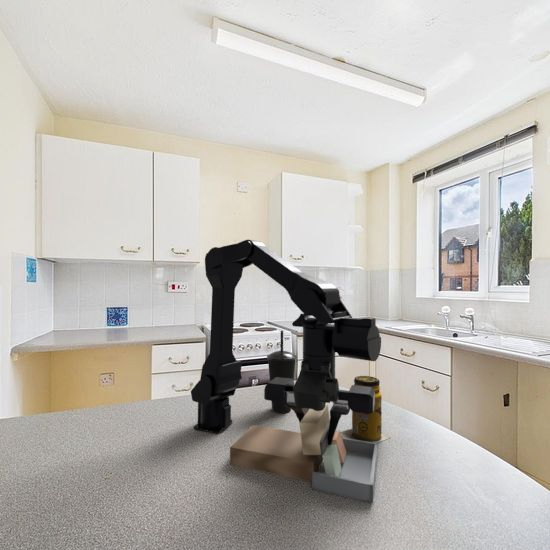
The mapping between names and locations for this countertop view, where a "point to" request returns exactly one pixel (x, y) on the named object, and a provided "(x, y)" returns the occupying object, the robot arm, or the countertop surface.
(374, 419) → the condiment
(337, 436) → the tile terracotta
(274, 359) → the drinking cup
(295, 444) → the walnut board
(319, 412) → the tall cream block
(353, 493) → the tray
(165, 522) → the countertop surface
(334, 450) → the tile sage
